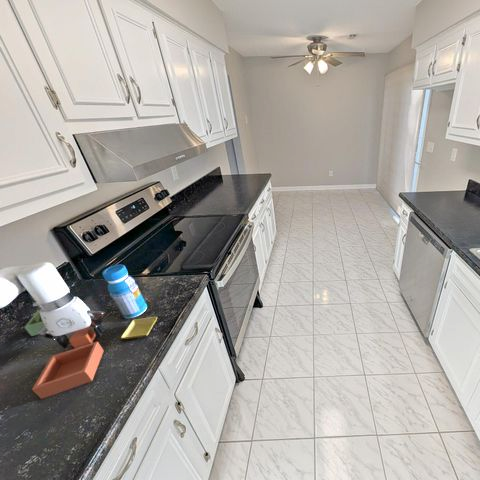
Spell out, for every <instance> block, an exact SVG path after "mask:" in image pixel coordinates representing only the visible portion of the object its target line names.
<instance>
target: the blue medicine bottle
mask: <svg viewBox="0 0 480 480" xmlns="http://www.w3.org/2000/svg"><path fill="white" fill-rule="evenodd" d="M101 274H102V276H103V279H104V280H105V281H106V282H107V291H108V292H109V295H110V297H111V298H112V299H113V301H114V303H115V305H116V306H117V308H118V310H119V311H120V313H121V316H122V317H123V318H124V319H134V318H137V317H138V316H140V315H142V314H144V312H146V310H147V308H148V304H147V302H146V301H145V299H144V297H143V295H142V293H141V290H140V288H139V285H138V283H136V280H135V278H134V277H133V276H131V275H129V272H128V269H127V267H126V265H124V264H120V263H119V264H115V265H111V266H108V267H107V268H105V269H104V270H103V271H102V273H101Z"/></svg>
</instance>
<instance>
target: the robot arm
mask: <svg viewBox="0 0 480 480" xmlns="http://www.w3.org/2000/svg"><path fill="white" fill-rule="evenodd" d="M24 291H27V292H28V294H29V295H30V296H32V297H33V299H34V300H35V301H36V302H33V303H32V306H33V307H34V308H37V306H39V307H40V309H41V310H40V311H39V313H40V316H41V318H42V321H43V323H44V325H45V326H43V327H42V328H41V329H40V330H39V331H38V332H37V333H38V335H39V336H42V337H45V338H46V339H51V340H53V341H56V342H57V344H59V345H60V346H61V347H62V348H63V349H66V348H67V347H68V346H69V344H70V342H69V340H70V338H69V337H68V336H67V335H68V334H70V333H74V331H78V330H81V329H84V328H87V327H91V328H93V332H94V333H95V335H96V336H97V337H98V338H101V337H102V336H103V334H104V333H105V328H104V326H103V324H102V323H103V321H104V318H105V314H106V312H105V311H103V310H91V309H90V308H89V306H88V305H87V304H86V303H84V301H83V300H82V299H80V298H79V297H78V296H75V295H74V293H73V292H72V291H71V290H70V288H69V286H68V285H67V283H66V282H65V280H64V279H63V277H62V276H61V274H60V272H59V271H58V270H57V268H56V267H55V266H54V265H53V263H51V262H48V261H43V262H37V263H33V264H31V265H19V266H18V265H17V266H16V265H15V266H8V267H3V268H1V269H0V309H3V308H5V307H6V306H8V305H9V304H10V303H12V302H13V301H14V300H15V299H16V298H17V297H18V296H19V295H20V294H22V293H23V292H24ZM96 317H98V318H96Z"/></svg>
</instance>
